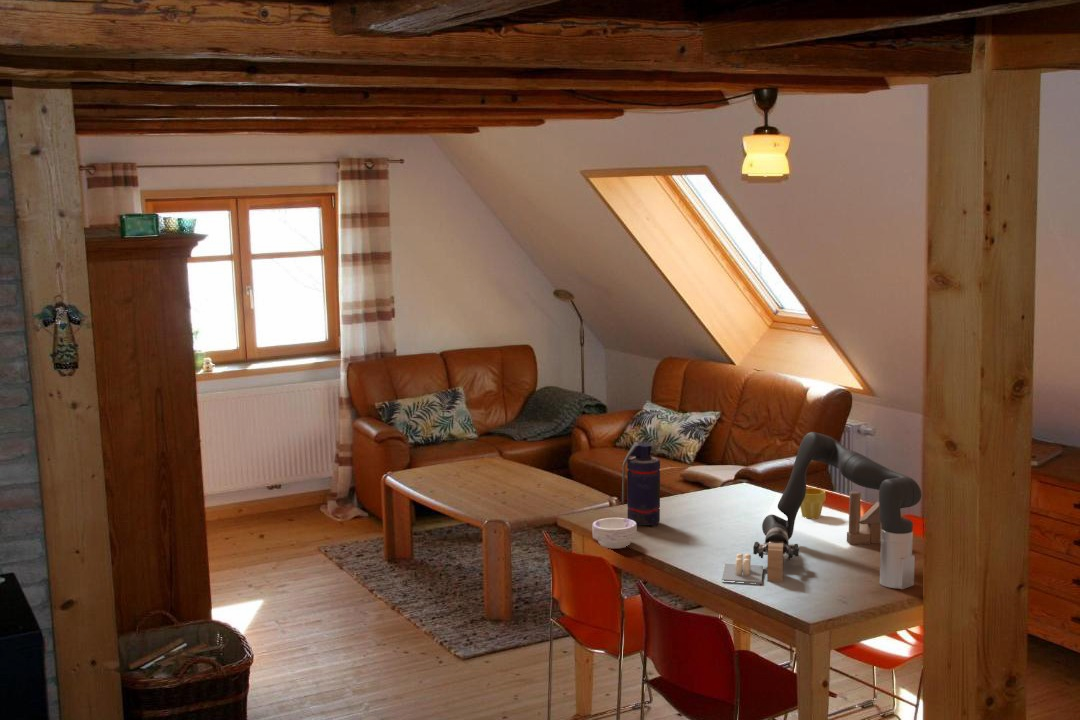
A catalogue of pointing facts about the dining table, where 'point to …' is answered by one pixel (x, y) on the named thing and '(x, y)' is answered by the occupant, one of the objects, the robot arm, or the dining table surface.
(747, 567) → the peg stand
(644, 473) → the grenade
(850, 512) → the wooden block structure
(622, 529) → the white bowl
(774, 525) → the robot arm
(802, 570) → the dining table surface
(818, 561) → the dining table surface
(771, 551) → the brown rectangular block
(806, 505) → the plant pot
